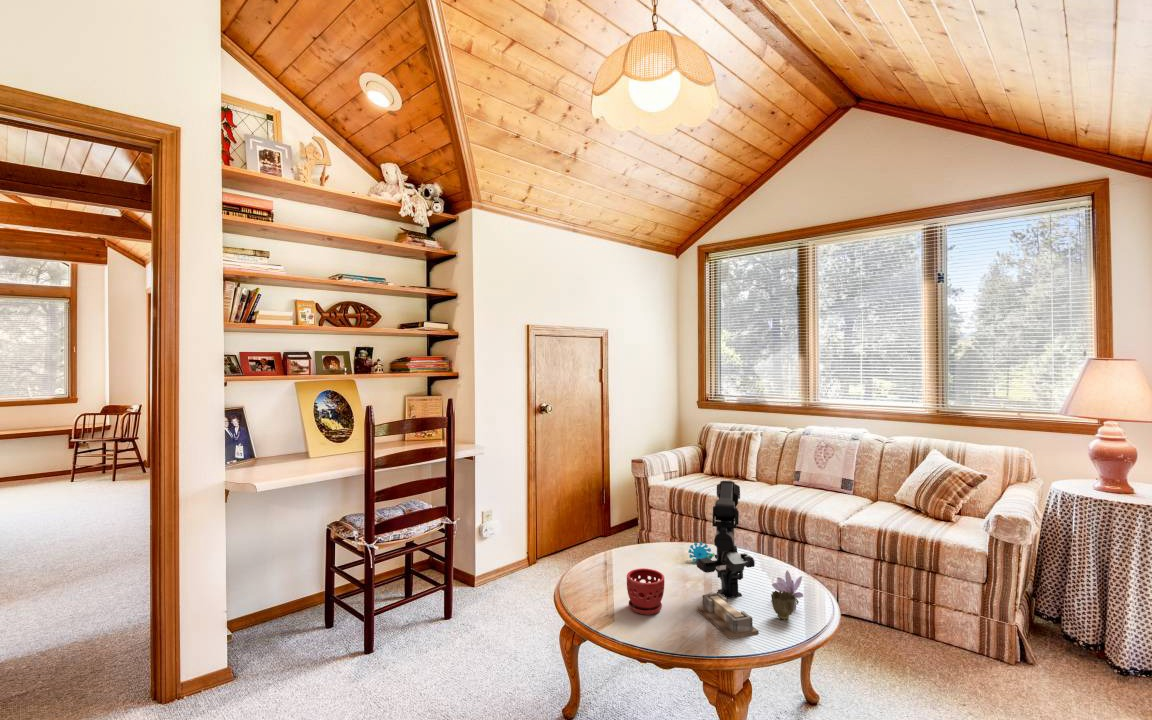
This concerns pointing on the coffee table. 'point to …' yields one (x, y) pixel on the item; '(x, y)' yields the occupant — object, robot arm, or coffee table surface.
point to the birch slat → (724, 608)
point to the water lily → (789, 587)
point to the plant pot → (645, 591)
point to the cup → (783, 604)
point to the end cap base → (727, 619)
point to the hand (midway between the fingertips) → (726, 588)
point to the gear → (700, 552)
